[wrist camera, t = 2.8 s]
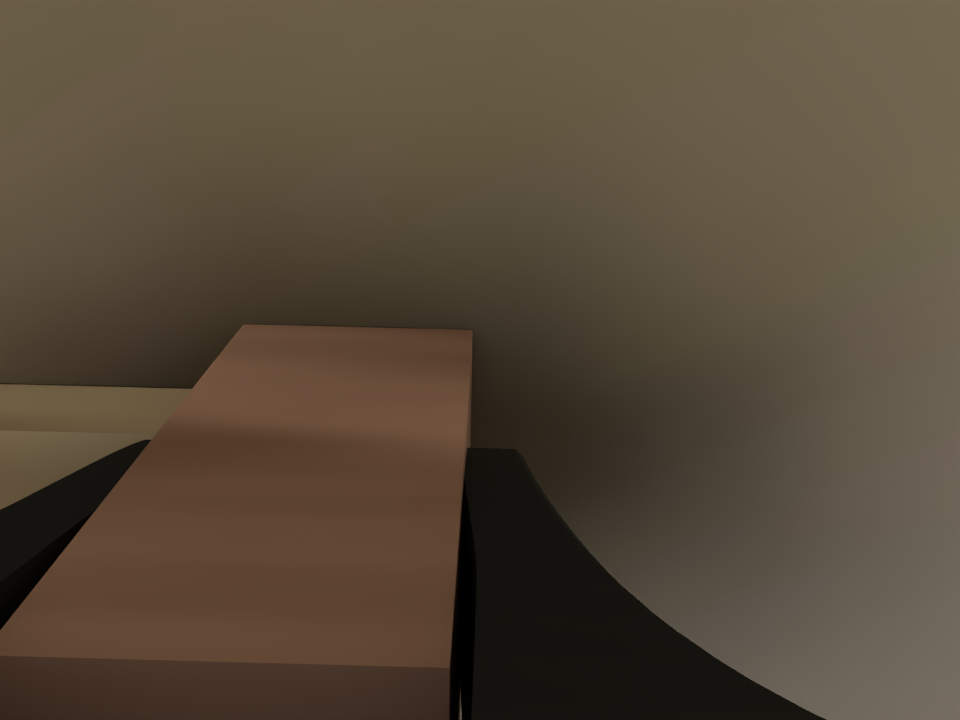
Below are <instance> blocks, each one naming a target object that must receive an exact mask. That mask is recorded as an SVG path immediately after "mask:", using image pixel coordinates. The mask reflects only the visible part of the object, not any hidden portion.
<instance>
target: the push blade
mask: <svg viewBox="0 0 960 720" xmlns="http://www.w3.org/2000/svg"><path fill="white" fill-rule="evenodd" d="M472 343H473V330H459V329H418V328H378V327H337V326H296V325H256V324H243V325H242V326H241V328H240V329H239V330H238V332H237V333H236V334H235V335H234V337H233V338H232V339H231V340H230V342H229V343H228V344H227V345H226V347H225V348H224V349H223V350H222V352H221V353H220V354H219V355H218V357H217V358H216V359H215V360H214V362H213V363H212V364H211V366H210V367H209V368H208V369H207V371H206V372H205V373H204V374H203V376H202V377H201V378H200V379H199V381H198V382H197V383H196V384H195V386H194V387H193V388H192V389H177V388H138V387H98V386H58V385H18V384H0V510H1V509H3V508H5V507H7V506H9V505H11V504H13V503H15V502H17V501H19V500H21V499H23V498H25V497H27V496H29V495H31V494H33V493H35V492H36V491H38V490H40V489H42V488H44V487H46V486H48V485H50V484H52V483H54V482H56V481H58V480H60V479H62V478H64V477H66V476H68V475H70V474H72V473H74V472H75V471H77V470H79V469H81V468H83V467H85V466H87V465H89V464H91V463H93V462H95V461H97V460H99V459H101V458H103V457H105V456H107V455H109V454H111V453H113V452H115V451H118V450H120V449H122V448H124V447H127V446H129V445H131V444H134V443H137V442H140V441H143V440H145V439H146V440H151V441H150V442H149V444H148V445H147V446H146V447H145V449H144V450H143V451H142V452H141V454H140V455H139V456H138V458H137V459H136V460H135V461H134V463H133V464H132V465H131V466H130V468H129V469H128V470H127V471H126V473H125V474H124V475H123V476H122V478H121V479H120V480H119V481H118V483H117V484H116V485H115V486H114V488H113V489H112V490H111V492H110V493H109V494H108V495H107V497H106V498H105V499H104V500H103V502H102V503H101V504H100V505H99V507H98V508H97V509H96V510H95V512H94V513H93V514H92V515H91V517H90V518H89V519H88V521H87V522H86V523H85V524H84V526H83V527H82V528H81V529H80V531H79V532H78V533H77V534H76V536H75V537H74V538H73V539H72V541H71V542H70V543H69V544H68V546H67V547H66V548H65V549H64V551H63V552H62V553H61V555H60V556H59V557H58V558H57V560H56V561H55V562H54V563H53V565H52V566H51V567H50V568H49V570H48V571H47V572H46V573H45V575H44V576H43V577H42V578H41V580H40V581H39V582H38V584H37V585H36V586H35V587H34V589H33V590H32V591H31V592H30V594H29V595H28V596H27V597H26V599H25V600H24V601H23V602H22V604H21V605H20V606H19V607H18V609H17V610H16V611H15V612H14V614H13V615H12V616H11V618H10V619H9V620H8V621H7V623H6V624H5V625H4V626H3V628H2V629H1V630H0V720H460V701H461V690H460V687H461V626H462V565H463V503H464V472H465V461H466V453H467V448H471V396H472Z"/></svg>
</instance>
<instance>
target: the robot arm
mask: <svg viewBox="0 0 960 720" xmlns="http://www.w3.org/2000/svg"><path fill="white" fill-rule="evenodd" d="M150 441H151V440H146V439H145V440H143V441H140V442H137V443H134V444H131V445H129V446H127V447H124V448H122V449H120V450H118V451H115V452H113V453H111V454H109V455H107V456H105V457H103V458H101V459H99V460H97V461H95V462H93V463H91V464H89V465H87V466H85V467H83V468H81V469H79V470H77V471H75V472H74V473H72V474H70V475H68V476H66V477H64V478H62V479H60V480H58V481H56V482H54V483H52V484H50V485H48V486H46V487H44V488H42V489H40V490H38V491H36V492H35V493H33V494H31V495H29V496H27V497H25V498H23V499H21V500H19V501H17V502H15V503H13V504H11V505H9V506H7V507H5V508H3V509H1V510H0V630H1V629H2V628H3V626H4V625H5V624H6V623H7V621H8V620H9V619H10V618H11V616H12V615H13V614H14V612H15V611H16V610H17V609H18V607H19V606H20V605H21V604H22V602H23V601H24V600H25V599H26V597H27V596H28V595H29V594H30V592H31V591H32V590H33V589H34V587H35V586H36V585H37V584H38V582H39V581H40V580H41V578H42V577H43V576H44V575H45V573H46V572H47V571H48V570H49V568H50V567H51V566H52V565H53V563H54V562H55V561H56V560H57V558H58V557H59V556H60V555H61V553H62V552H63V551H64V549H65V548H66V547H67V546H68V544H69V543H70V542H71V541H72V539H73V538H74V537H75V536H76V534H77V533H78V532H79V531H80V529H81V528H82V527H83V526H84V524H85V523H86V522H87V521H88V519H89V518H90V517H91V515H92V514H93V513H94V512H95V510H96V509H97V508H98V507H99V505H100V504H101V503H102V502H103V500H104V499H105V498H106V497H107V495H108V494H109V493H110V492H111V490H112V489H113V488H114V486H115V485H116V484H117V483H118V481H119V480H120V479H121V478H122V476H123V475H124V474H125V473H126V471H127V470H128V469H129V468H130V466H131V465H132V464H133V463H134V461H135V460H136V459H137V458H138V456H139V455H140V454H141V452H142V451H143V450H144V449H145V447H146V446H147V445H148V444H149V442H150ZM460 690H461V706H462V720H826V719H824V718H822V717H819V716H817V715H815V714H813V713H811V712H809V711H807V710H805V709H803V708H801V707H799V706H798V705H796V704H794V703H792V702H790V701H788V700H787V699H785V698H783V697H781V696H779V695H777V694H776V693H774V692H772V691H770V690H768V689H767V688H765V687H763V686H761V685H759V684H757V683H756V682H754V681H752V680H750V679H749V678H747V677H745V676H744V675H742V674H740V673H739V672H737V671H736V670H734V669H732V668H731V667H729V666H727V665H726V664H724V663H722V662H721V661H719V660H718V659H716V658H715V657H713V656H712V655H710V654H709V653H707V652H706V651H705V650H703V649H702V648H700V647H699V646H697V645H696V644H694V643H693V642H692V641H690V640H689V639H687V638H686V637H684V636H683V635H681V634H680V633H679V632H677V631H676V630H674V629H673V628H672V627H670V626H669V625H668V624H667V623H665V622H664V621H663V620H661V619H660V618H659V617H657V616H656V615H655V614H654V613H652V612H651V611H650V610H649V609H648V608H647V607H645V606H644V605H643V604H642V603H641V602H640V601H639V600H637V599H636V598H635V597H634V596H633V595H632V594H630V593H629V592H628V591H627V590H626V589H625V588H623V587H622V586H621V585H620V584H619V583H618V582H617V581H616V580H615V579H614V578H613V577H612V576H611V575H610V574H609V573H608V572H607V571H606V570H605V569H604V568H603V566H602V565H601V564H600V563H599V562H598V561H597V560H596V559H595V558H594V557H593V556H592V554H591V553H590V552H589V551H588V550H587V549H586V548H585V546H584V545H583V544H582V543H581V542H580V540H579V539H578V538H577V537H576V536H575V534H574V533H573V532H572V530H571V529H570V528H569V527H568V525H567V524H566V523H565V521H564V520H563V519H562V517H561V516H560V515H559V514H558V512H557V511H556V510H555V508H554V507H553V505H552V504H551V503H550V501H549V500H548V498H547V497H546V495H545V494H544V492H543V491H542V489H541V488H540V486H539V485H538V483H537V481H536V480H535V478H534V476H533V475H532V473H531V471H530V469H529V468H528V466H527V464H526V462H525V459H524V458H523V457H522V456H521V455H520V453H519V452H518V451H517V450H516V449H490V448H467V453H466V461H465V472H464V503H463V565H462V626H461V687H460Z"/></svg>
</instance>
